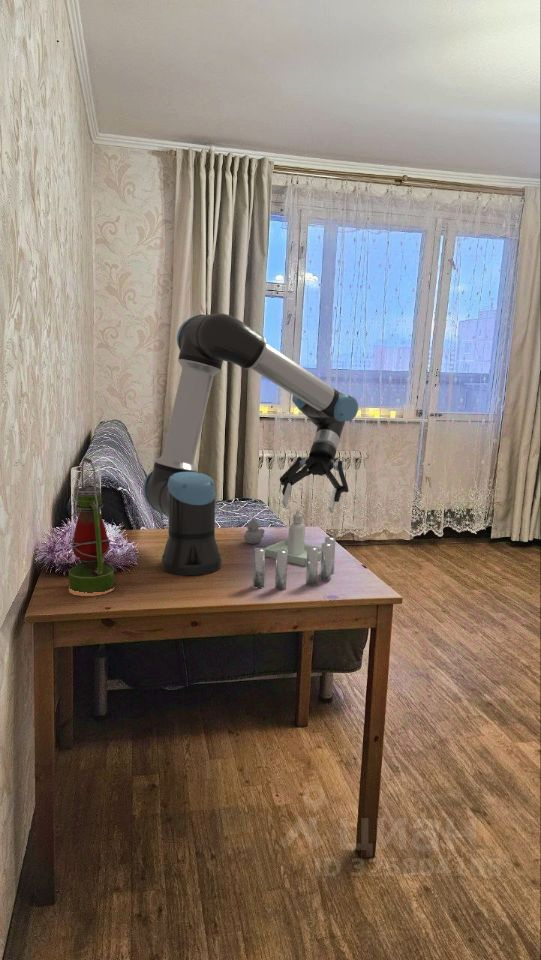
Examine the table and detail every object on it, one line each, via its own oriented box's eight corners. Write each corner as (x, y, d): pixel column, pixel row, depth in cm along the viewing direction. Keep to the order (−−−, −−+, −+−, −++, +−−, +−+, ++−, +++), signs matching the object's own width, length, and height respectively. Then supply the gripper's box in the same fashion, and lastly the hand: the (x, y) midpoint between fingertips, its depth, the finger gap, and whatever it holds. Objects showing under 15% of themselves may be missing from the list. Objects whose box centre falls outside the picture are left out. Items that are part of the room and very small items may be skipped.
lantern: (125, 593, 142) (123, 461, 137) (78, 602, 136) (73, 465, 131) (104, 575, 154) (100, 453, 148) (59, 583, 148) (54, 456, 142)
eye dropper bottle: (282, 551, 173) (285, 509, 170) (300, 549, 175) (302, 507, 173) (290, 556, 169) (293, 513, 167) (308, 554, 172) (311, 511, 169)
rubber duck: (239, 542, 184) (240, 515, 183) (258, 538, 188) (259, 512, 186) (249, 546, 180) (250, 519, 178) (269, 543, 183) (269, 516, 182)
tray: (262, 555, 172) (262, 548, 172) (284, 546, 181) (285, 539, 180) (306, 566, 164) (306, 559, 164) (327, 556, 173) (327, 549, 173)
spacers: (250, 585, 149) (251, 548, 148) (329, 570, 161) (331, 536, 160) (267, 595, 143) (268, 557, 141) (348, 579, 155) (349, 543, 154)
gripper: (366, 460, 188) (352, 519, 177) (287, 452, 196) (268, 509, 185) (364, 444, 182) (348, 504, 171) (282, 437, 190) (262, 494, 179)
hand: (306, 507), depth 178 cm, fingers open, 13 cm apart
